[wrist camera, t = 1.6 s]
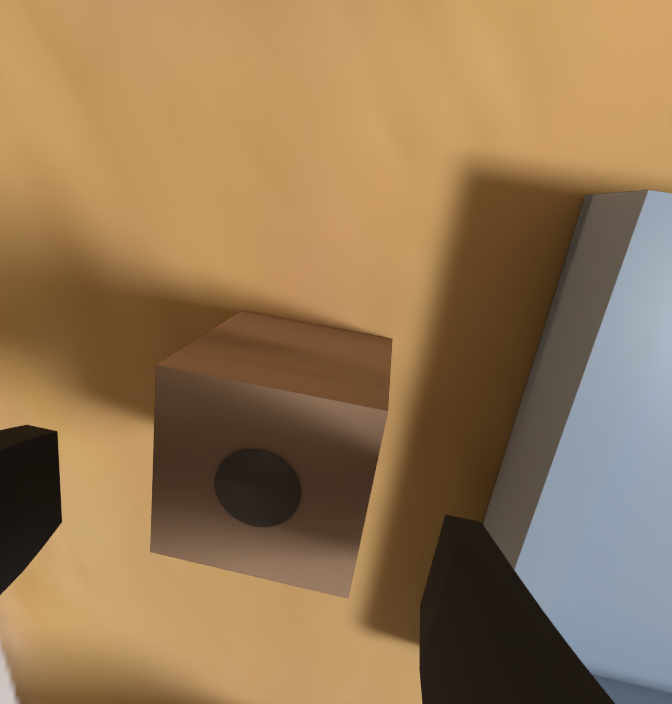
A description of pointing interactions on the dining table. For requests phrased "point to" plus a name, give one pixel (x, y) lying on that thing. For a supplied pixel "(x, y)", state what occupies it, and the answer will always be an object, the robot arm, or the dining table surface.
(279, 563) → the walnut block
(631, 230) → the tray
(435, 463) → the dining table surface
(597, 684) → the robot arm
